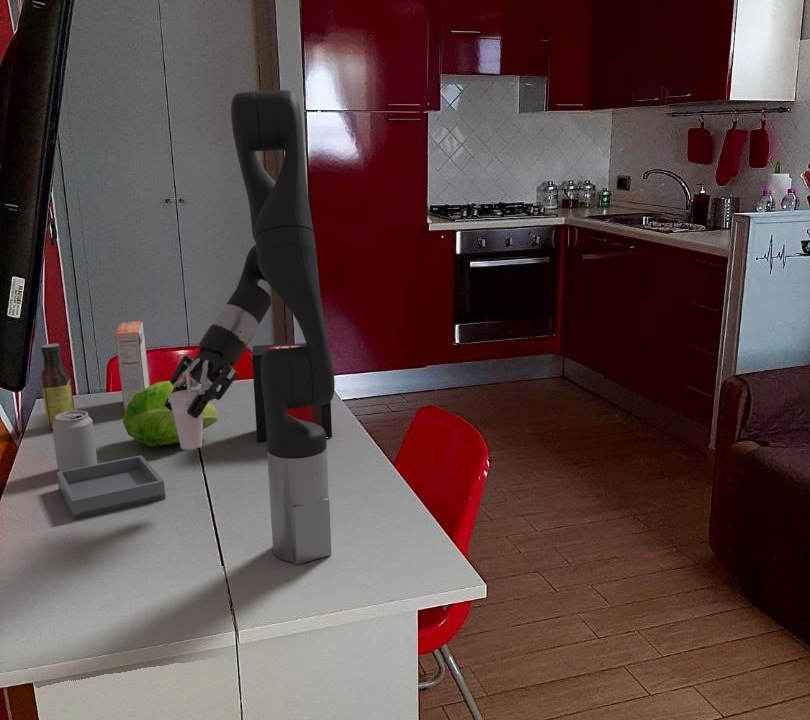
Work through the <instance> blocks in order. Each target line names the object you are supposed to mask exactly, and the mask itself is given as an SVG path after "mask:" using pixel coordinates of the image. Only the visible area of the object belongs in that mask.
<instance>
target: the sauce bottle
mask: <svg viewBox="0 0 810 720" xmlns="http://www.w3.org/2000/svg"><path fill="white" fill-rule="evenodd" d="M40 351H41V354H42V357H43V369H42V371H41V373H40V380H41V388H42V390H41V391H42V396H43V402H44V406H45V407H44V408H45V414H46V415H45V417H46V421H47V424H48V425H47V426H48V428H49V429H50V430H52V429H53V428H52V424H53V423H54V421H55V420H56V419H55V416H56V415H58V414H60V413H63V412H68V411H76V409H75V404H74V403H75V402H74V397H73V389H72V383H71V378H70V377H71V376H70V375H69V373H68V371H67V369H66V367H65V366H64V363H63V361H62V356H61V345H60V344H59V343H48V344H47V343H46V344H44V345H40Z"/></svg>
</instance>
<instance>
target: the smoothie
mask: <svg viewBox="0 0 810 720" xmlns="http://www.w3.org/2000/svg"><path fill="white" fill-rule="evenodd" d="M190 377H191V374H190V375H189V370H186V378H187V381H186V385H187V389H188V390H181V391H177V392H173V393H171V394H170V395H169V396H168V399H169V400H168V402H169V403H171V407H172V412H173V416H174V420H175V424H176V429H177V433H178V437H179V442H180V443H179V445H180V448H181V449H182V450H196V449H198V448H200V447H202V446H203V431H204V429H203V411H202V413H201V414H200V415H199V417H198V418H193V417H192V416H190V415H189V414H188V413H187V410H188V409H189V407H190V406H191V404H192V402H193V401H194V399H195V398H196V396H197V395H200V389H193V390H191V389H192V388H191V386H190Z"/></svg>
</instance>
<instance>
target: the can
mask: <svg viewBox="0 0 810 720" xmlns="http://www.w3.org/2000/svg"><path fill="white" fill-rule="evenodd" d="M55 419H56V420H55V421H54V423H53V424H52V428H53V430H52V434H53V443H54V450H55V458H56V467H57V470H58V471H57V472H59V471H64V470H69V469H74V468H79V467H84V466H89V465H94V464H98V458H97V457H98V456H97V449H96V448H97V447H96V439H95V431H94V423H93V422H94V421H93V419H92V418H91V417H90V416H89V413H88V412H87V411H85V410H75V411H68V412H63V413H60V414H58V415H56V416H55Z"/></svg>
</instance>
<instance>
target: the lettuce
mask: <svg viewBox="0 0 810 720" xmlns="http://www.w3.org/2000/svg"><path fill="white" fill-rule="evenodd" d="M185 385H186V384H185ZM185 385H184V386H185ZM173 389H174V386H173V384H172V383H170V380H166V381H157V382H155V383H153V384H151V385H150V386H149V387H147V388H145V389H143V390H141V391H139V392H137V393H136V394H135V396H134V397H133V398H132V400H131V401H130V403H129V404H128V405H127V407H126V411H125V413H124V417H123V420H122V424H123V426H124V428H125V430H126V432H127V435H128V436H129V437H131V438H133V439H135V441H138V442H140V443H142V444H144V445H146V446H148V447H152V448H153V447H159V446H167V445H174V444H180V442H179V437H178V433H177V429H176V424H175V420H174V416H173V412H172V411H171V410H169V409H168V408H166V407H165V406H164V404H165V402H166V400H167V398H168V396H169V395H170V394H171V392H172V391H173ZM191 390H194V389H193V388H191ZM218 418H219V417H218V410H217V408H216V407H215V406H214V405H213V404H212V403H210V401H209V402H208V403H207V405H206V407H205V408H204V410H203V430H205V429H206V428H208V427H210V426H212V425H213V424H215V423H217V422H218V420H219V419H218Z"/></svg>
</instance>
